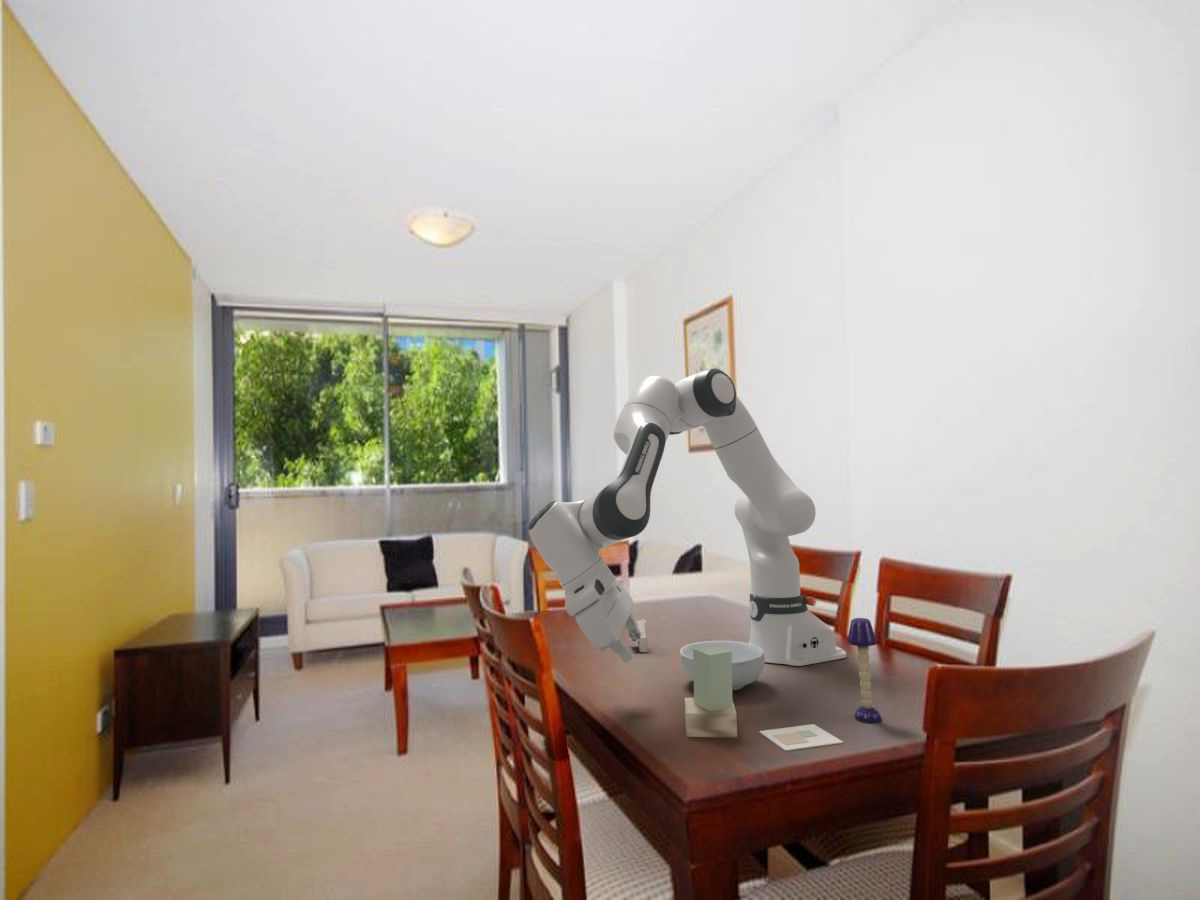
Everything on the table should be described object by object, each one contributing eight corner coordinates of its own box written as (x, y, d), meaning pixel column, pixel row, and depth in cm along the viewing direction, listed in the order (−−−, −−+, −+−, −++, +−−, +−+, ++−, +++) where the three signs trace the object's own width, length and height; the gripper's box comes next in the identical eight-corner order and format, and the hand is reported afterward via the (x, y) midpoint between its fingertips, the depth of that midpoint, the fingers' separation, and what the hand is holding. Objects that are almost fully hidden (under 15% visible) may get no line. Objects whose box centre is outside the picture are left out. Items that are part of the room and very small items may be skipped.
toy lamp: (865, 725, 111) (861, 623, 111) (844, 716, 115) (840, 618, 116) (887, 720, 113) (882, 620, 113) (865, 712, 117) (862, 615, 118)
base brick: (732, 721, 115) (731, 698, 115) (737, 739, 107) (736, 714, 107) (685, 721, 115) (684, 697, 116) (686, 738, 107) (686, 713, 108)
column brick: (715, 699, 114) (714, 645, 115) (732, 707, 110) (731, 651, 111) (694, 703, 112) (693, 649, 113) (710, 711, 108) (709, 655, 109)
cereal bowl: (678, 673, 143) (677, 640, 143) (758, 673, 142) (756, 639, 142) (682, 699, 126) (681, 661, 126) (772, 699, 125) (771, 660, 125)
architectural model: (633, 655, 161) (632, 623, 161) (630, 648, 168) (629, 618, 168) (647, 654, 161) (646, 623, 162) (643, 647, 168) (642, 617, 169)
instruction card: (813, 725, 111) (813, 723, 111) (843, 743, 103) (843, 741, 103) (759, 732, 109) (759, 730, 109) (785, 751, 101) (785, 749, 101)
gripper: (589, 576, 132) (629, 635, 131) (561, 612, 112) (609, 681, 111) (615, 560, 130) (655, 619, 130) (591, 593, 110) (639, 663, 110)
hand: (634, 648), depth 120 cm, fingers open, 8 cm apart
